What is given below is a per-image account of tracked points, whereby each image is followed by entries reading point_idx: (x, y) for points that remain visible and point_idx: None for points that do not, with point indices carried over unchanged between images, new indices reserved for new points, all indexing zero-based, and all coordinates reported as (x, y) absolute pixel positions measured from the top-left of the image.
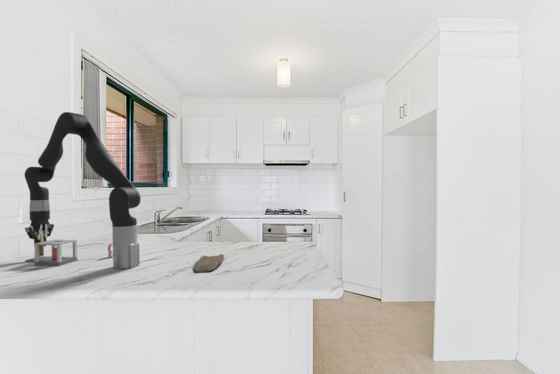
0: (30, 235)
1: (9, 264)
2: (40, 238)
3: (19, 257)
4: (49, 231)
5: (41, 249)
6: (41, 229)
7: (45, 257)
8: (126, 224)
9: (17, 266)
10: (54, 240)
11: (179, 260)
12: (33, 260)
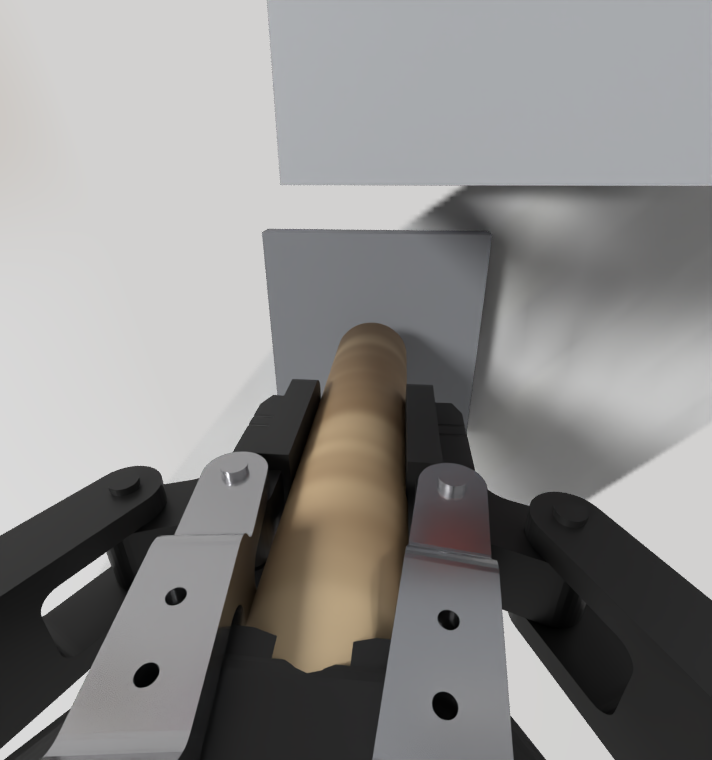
0: (599, 655)
1: (559, 482)
2: (384, 484)
3: None
4: (52, 568)
5: (384, 362)
6: (396, 706)
7: (327, 321)
8: None
9: (676, 339)
10: None
11: None
12: (477, 338)
